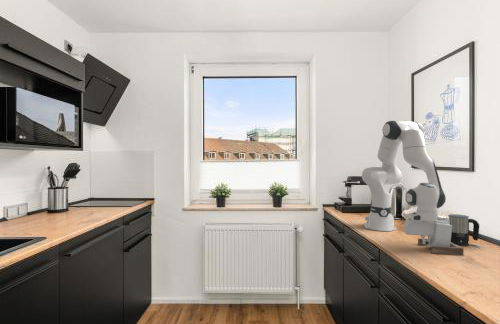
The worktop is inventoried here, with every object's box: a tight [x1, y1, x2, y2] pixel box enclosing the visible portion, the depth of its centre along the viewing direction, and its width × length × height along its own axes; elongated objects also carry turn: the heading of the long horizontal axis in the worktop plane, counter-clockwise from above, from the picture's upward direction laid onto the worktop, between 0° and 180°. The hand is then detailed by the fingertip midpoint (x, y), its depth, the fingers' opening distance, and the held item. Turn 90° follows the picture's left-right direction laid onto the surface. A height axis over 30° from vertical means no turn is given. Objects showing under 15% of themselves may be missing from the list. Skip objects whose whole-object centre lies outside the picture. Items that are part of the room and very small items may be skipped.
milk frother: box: [448, 213, 480, 246], centre depth 168 cm, size 14×16×15 cm
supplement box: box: [426, 223, 452, 248], centre depth 153 cm, size 7×7×13 cm
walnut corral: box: [417, 238, 465, 256], centre depth 153 cm, size 16×14×3 cm
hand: (426, 244), depth 153 cm, fingers closed
